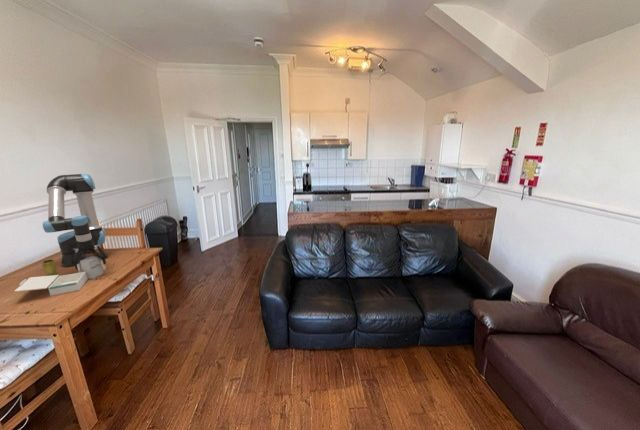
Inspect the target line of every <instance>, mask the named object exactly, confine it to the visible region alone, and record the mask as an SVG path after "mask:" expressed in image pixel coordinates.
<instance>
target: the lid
mask: <svg viewBox="0 0 640 430" xmlns="http://www.w3.org/2000/svg"><path fill="white" fill-rule="evenodd" d="M58 276H60V274H59V275H52V276H46V275H42V276H33V277H31V276H30V277H28V279H23V280H22V281H21V282H20V283H19V286H18V287H17V288H16V289H15V290H14V291H13V292H14V293H17V292H27V291H28V292H29V291H37V290H46V289H47V290H48V287H49V286H50V285H51V283H52V282H53V281H54V280H55V279H56V278H57V277H58Z"/></svg>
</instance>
